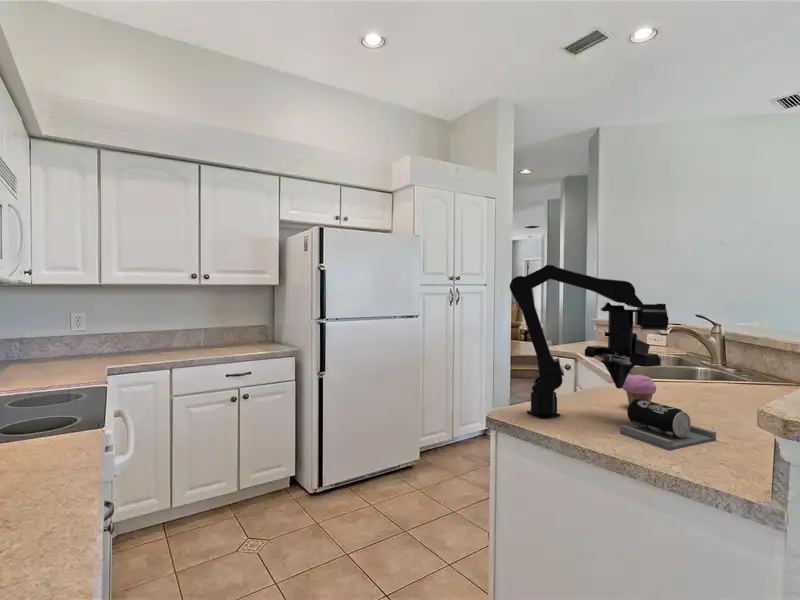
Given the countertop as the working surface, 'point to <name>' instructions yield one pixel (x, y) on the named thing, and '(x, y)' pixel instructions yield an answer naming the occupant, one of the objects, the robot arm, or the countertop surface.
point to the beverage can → (659, 418)
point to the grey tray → (669, 437)
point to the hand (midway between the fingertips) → (619, 388)
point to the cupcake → (639, 388)
